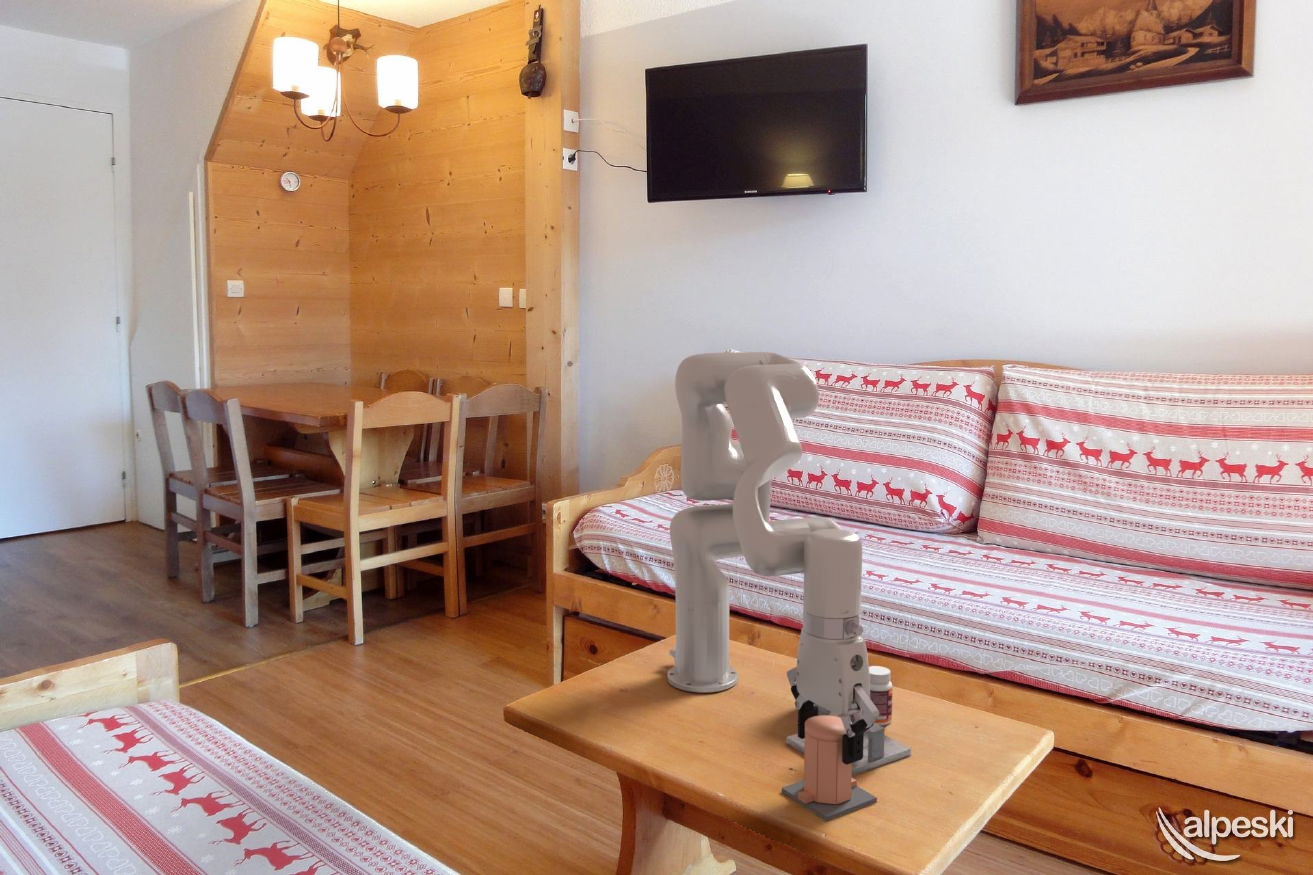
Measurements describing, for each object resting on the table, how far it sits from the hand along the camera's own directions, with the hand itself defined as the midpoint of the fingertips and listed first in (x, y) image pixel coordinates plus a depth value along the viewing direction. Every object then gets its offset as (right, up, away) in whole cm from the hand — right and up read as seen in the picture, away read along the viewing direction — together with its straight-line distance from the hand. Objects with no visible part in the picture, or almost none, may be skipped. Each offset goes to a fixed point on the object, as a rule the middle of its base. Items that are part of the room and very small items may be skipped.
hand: (829, 747), depth 127 cm
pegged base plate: (+5, -5, +15) cm, 17 cm away
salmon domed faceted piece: (0, -6, +1) cm, 6 cm away
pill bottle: (+12, -4, +25) cm, 28 cm away
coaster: (0, -7, +1) cm, 7 cm away
